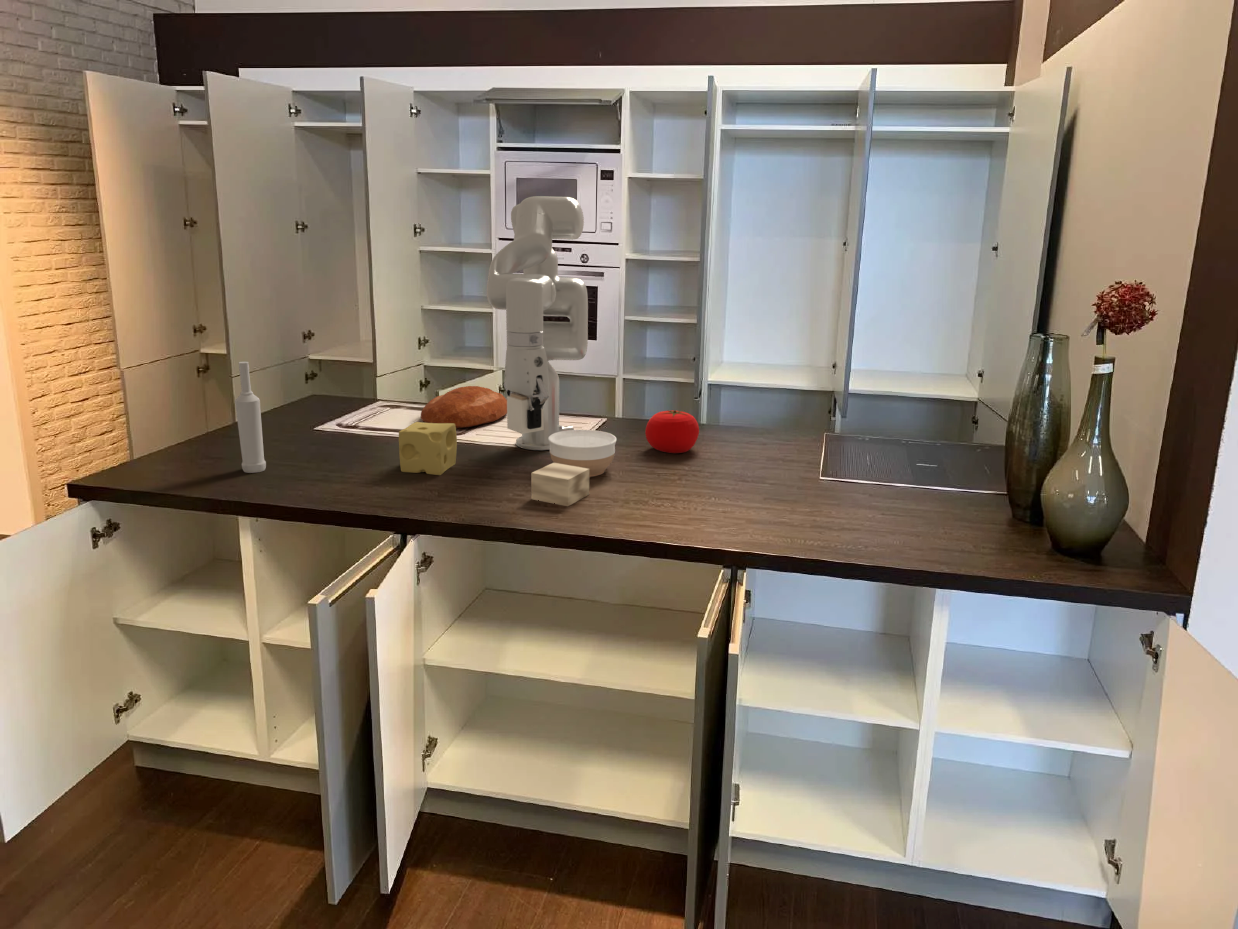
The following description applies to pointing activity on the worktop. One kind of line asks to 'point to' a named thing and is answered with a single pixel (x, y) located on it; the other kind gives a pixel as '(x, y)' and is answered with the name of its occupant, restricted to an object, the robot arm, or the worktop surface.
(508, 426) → the white cube
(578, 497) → the block
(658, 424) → the tomato
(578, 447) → the bowl
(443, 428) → the cheese
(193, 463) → the worktop surface
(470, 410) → the bread
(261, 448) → the bottle
